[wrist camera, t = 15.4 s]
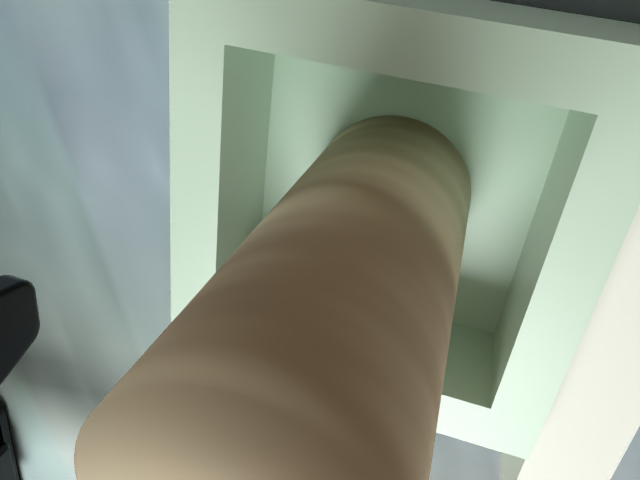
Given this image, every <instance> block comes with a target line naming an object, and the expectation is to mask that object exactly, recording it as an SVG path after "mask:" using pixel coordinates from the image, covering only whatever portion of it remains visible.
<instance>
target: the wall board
mask: <svg viewBox="0 0 640 480" xmlns="http://www.w3.org/2000/svg"><path fill="white" fill-rule="evenodd" d="M639 426H640V205H639V207H638V209H637V212H636V214H635V216H634V219H633V221H632V223H631V226H630V228H629V230H628V232H627V235H626V237H625V239H624V242H623V244H622V246H621V249H620V251H619V253H618V255H617V258H616V260H615V262H614V265H613V267H612V269H611V272H610V274H609V276H608V278H607V281H606V283H605V285H604V288H603V290H602V292H601V295H600V297H599V299H598V301H597V304H596V306H595V308H594V311H593V313H592V315H591V318H590V320H589V322H588V324H587V327H586V329H585V331H584V334H583V336H582V338H581V341H580V343H579V345H578V347H577V350H576V352H575V354H574V357H573V359H572V361H571V364H570V366H569V368H568V370H567V373H566V375H565V377H564V380H563V382H562V384H561V387H560V389H559V391H558V394H557V396H556V398H555V400H554V403H553V405H552V407H551V410H550V412H549V414H548V417H547V419H546V421H545V423H544V426H543V428H542V430H541V433H540V435H539V437H538V440H537V442H536V444H535V446H534V449H533V451H532V453H531V456H530V458H529V460H526V459H522V458H519V457H516V456H513V455H509V454H506V453H503V452H500V480H610V479H611V477H612V475H613V473H614V472H615V470H616V468H617V466H618V464H619V462H620V461H621V459H622V457H623V455H624V453H625V452H626V450H627V448H628V446H629V444H630V442H631V441H632V439H633V437H634V435H635V433H636V432H637V430H638V428H639Z"/></svg>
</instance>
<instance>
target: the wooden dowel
mask: <svg viewBox="0 0 640 480" xmlns="http://www.w3.org/2000/svg"><path fill="white" fill-rule="evenodd" d="M470 201H471V184H470V177H469V173H468V170H467V167H466V165H465V162H464V160H463V158H462V157H461V155H460V153H459V151H458V150H457V149H456V147H455V146H454V145H453V144H452V142H450V141H449V140H448V139H447V138H446V137H445V136H444V135H443V134H442V133H440V132H439V131H438V130H437V129H435V128H433V127H431V126H430V125H428V124H426V123H424V122H421V121H419V120H416V119H412V118H409V117H404V116H396V115H383V116H376V117H371V118H367V119H364V120H361V121H359V122H357V123H355V124H353V125H351V126H349V127H348V128H346V129H345V130H344V131H342V132H341V133H340V134H339V135H338V136H337V137H336V138H335V139H334V140H333V141H332V142H331V143H330V144H329V145H328V147H327V148H326V149H325V150H324V151H323V152H322V153H321V154H320V156H319V157H318V158H317V159H316V160H315V161H314V162H313V164H312V165H311V166H310V167H309V168H308V169H307V170H306V171H305V173H304V174H303V175H302V176H301V177H300V178H299V179H298V180H297V182H296V183H295V184H294V185H293V186H292V187H291V188H290V189H289V191H288V192H287V193H286V194H285V195H284V196H283V197H282V198H281V200H280V201H279V202H278V203H277V204H276V205H275V206H274V207H273V209H272V210H271V211H270V212H269V213H268V214H267V215H266V216H265V218H264V219H263V220H262V221H261V222H260V223H259V224H258V226H257V227H256V228H255V229H254V230H253V231H252V232H251V233H250V235H249V236H248V237H247V238H246V239H245V240H244V241H243V242H242V244H241V245H240V246H239V247H238V248H237V249H236V250H235V251H234V253H233V254H232V255H231V256H230V257H229V258H228V259H227V260H226V262H225V263H224V264H223V265H222V266H221V267H220V268H219V269H218V271H217V272H216V273H215V274H214V275H213V276H212V277H211V278H210V280H209V281H208V282H207V283H206V284H205V285H204V286H203V288H202V289H201V290H200V291H199V292H198V293H197V294H196V295H195V297H194V298H193V299H192V300H191V301H190V302H189V303H188V304H187V306H186V307H185V308H184V309H183V310H182V311H181V312H180V313H179V315H178V316H177V317H176V318H175V319H174V320H173V321H172V322H171V324H170V325H169V326H168V327H167V328H166V329H165V330H164V331H163V333H162V334H161V335H160V336H159V337H158V338H157V339H156V341H155V342H154V343H153V344H152V345H151V346H150V347H149V348H148V350H147V351H146V352H145V353H144V354H143V355H142V356H141V357H140V359H139V360H138V361H137V362H136V363H135V364H134V365H133V366H132V368H131V369H130V370H129V371H128V372H127V373H126V374H125V375H124V377H123V378H122V379H121V380H120V381H119V382H118V383H117V384H116V386H115V387H114V388H113V389H112V390H111V391H110V392H109V393H108V395H107V396H106V397H105V398H104V399H103V400H102V401H101V403H100V404H99V405H98V406H97V407H96V408H95V409H94V410H93V412H92V413H91V414H90V415H89V416H88V417H87V419H86V421H85V422H84V424H83V426H82V427H81V429H80V432H79V435H78V438H77V440H76V446H75V453H74V464H75V474H76V479H77V480H429V476H430V469H431V463H432V456H433V449H434V442H435V436H436V429H437V422H438V416H439V409H440V402H441V395H442V389H443V382H444V375H445V369H446V362H447V355H448V348H449V342H450V335H451V328H452V322H453V315H454V308H455V302H456V295H457V288H458V281H459V275H460V268H461V261H462V255H463V248H464V241H465V234H466V228H467V221H468V214H469V208H470Z"/></svg>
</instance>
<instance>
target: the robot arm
mask: <svg viewBox="0 0 640 480" xmlns="http://www.w3.org/2000/svg"><path fill="white" fill-rule="evenodd" d="M39 328H40V319H39V312H38V305H37V299H36V292H35V288H34V286H33V284H32V283H31V282H29V281H27V280H24V279H21V278H18V277H14V276H10V275H2V276H0V385H1V383H2V382H3V381H4V380H5V378H6V377H7V376H8V374H9V373H10V372H11V370H12V369H13V368H14V366H15V365H16V364H17V362H18V361H19V360H20V358H21V357H22V356H23V355H24V353H25V352H26V351H27V349H28V348H29V347H30V345H31V344H32V343H33V341H34V340H35V338H36V336H37V334H38V332H39ZM0 480H19V476H18V471H17V466H16V461H15V456H14V451H13V446H12V441H11V436H10V431H9V426H8V421H7V416H6V411H5V409H4V407H3V406H2V405H1V404H0Z"/></svg>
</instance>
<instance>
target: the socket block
mask: <svg viewBox="0 0 640 480" xmlns="http://www.w3.org/2000/svg"><path fill="white" fill-rule="evenodd" d="M169 101H170V243H171V322H172V321H173V320H174V319H175V318H176V317H177V316H178V315H179V313H180V312H181V311H182V310H183V309H184V308H185V307H186V306H187V304H188V303H189V302H190V301H191V300H192V299H193V298H194V297H195V295H196V294H197V293H198V292H199V291H200V290H201V289H202V288H203V286H204V285H205V284H206V283H207V282H208V281H209V280H210V278H211V277H212V276H213V275H214V274H215V273H216V272H217V271H218V269H219V268H220V267H221V266H222V265H223V264H224V263H225V262H226V260H227V259H228V258H229V257H230V256H231V255H232V254H233V253H234V251H235V250H236V249H237V248H238V247H239V246H240V245H241V244H242V242H243V241H244V240H245V239H246V238H247V237H248V236H249V235H250V233H251V232H252V231H253V230H254V229H255V228H256V227H257V226H258V224H259V223H260V222H261V221H262V220H263V219H264V218H265V216H266V215H267V214H268V213H269V212H270V211H271V210H272V209H273V207H274V206H275V205H276V204H277V203H278V202H279V201H280V200H281V198H282V197H283V196H284V195H285V194H286V193H287V192H288V191H289V189H290V188H291V187H292V186H293V185H294V184H295V183H296V182H297V180H298V179H299V178H300V177H301V176H302V175H303V174H304V173H305V171H306V170H307V169H308V168H309V167H310V166H311V165H312V164H313V162H314V161H315V160H316V159H317V158H318V157H319V156H320V154H321V153H322V152H323V151H324V150H325V149H326V148H327V147H328V145H329V144H330V143H331V142H332V141H333V140H334V139H335V138H336V137H337V136H338V135H339V134H340V133H341V132H342V131H344V130H345V129H346V128H348V127H349V126H351V125H353V124H355V123H357V122H359V121H361V120H364V119H367V118H371V117H376V116H383V115H396V116H404V117H409V118H412V119H416V120H419V121H421V122H424V123H426V124H428V125H430V126H431V127H433V128H435V129H437V130H438V131H439V132H440V133H442V134H443V135H444V136H445V137H446V138H447V139H448V140H449V141H450V142H452V144H453V145H454V146H455V147H456V149H457V150H458V151H459V153H460V155H461V157H462V158H463V160H464V162H465V165H466V167H467V170H468V173H469V177H470V184H471V201H470V208H469V214H468V221H467V228H466V234H465V241H464V248H463V255H462V261H461V268H460V275H459V281H458V288H457V295H456V302H455V308H454V315H453V322H452V328H451V335H450V342H449V348H448V355H447V362H446V369H445V375H444V382H443V389H442V395H441V402H440V409H439V416H438V422H437V429H436V432H437V433H440V434H444V435H447V436H450V437H454V438H457V439H460V440H463V441H467V442H470V443H473V444H476V445H480V446H483V447H486V448H490V449H493V450H496V451H499V452H503V453H506V454H509V455H513V456H516V457H519V458H522V459H526V460H529V458H530V456H531V453H532V451H533V449H534V446H535V444H536V442H537V440H538V437H539V435H540V433H541V430H542V428H543V426H544V423H545V421H546V419H547V417H548V414H549V412H550V410H551V407H552V405H553V403H554V400H555V398H556V396H557V394H558V391H559V389H560V387H561V384H562V382H563V380H564V377H565V375H566V373H567V370H568V368H569V366H570V364H571V361H572V359H573V357H574V354H575V352H576V350H577V347H578V345H579V343H580V341H581V338H582V336H583V334H584V331H585V329H586V327H587V324H588V322H589V320H590V318H591V315H592V313H593V311H594V308H595V306H596V304H597V301H598V299H599V297H600V295H601V292H602V290H603V288H604V285H605V283H606V281H607V278H608V276H609V274H610V272H611V269H612V267H613V265H614V262H615V260H616V258H617V255H618V253H619V251H620V249H621V246H622V244H623V242H624V239H625V237H626V235H627V232H628V230H629V228H630V226H631V223H632V221H633V219H634V216H635V214H636V212H637V209H638V207H639V205H640V24H636V23H630V22H624V21H617V20H611V19H605V18H598V17H592V16H586V15H579V14H573V13H567V12H560V11H554V10H548V9H541V8H535V7H529V6H522V5H516V4H510V3H503V2H497V1H491V0H169Z"/></svg>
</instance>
